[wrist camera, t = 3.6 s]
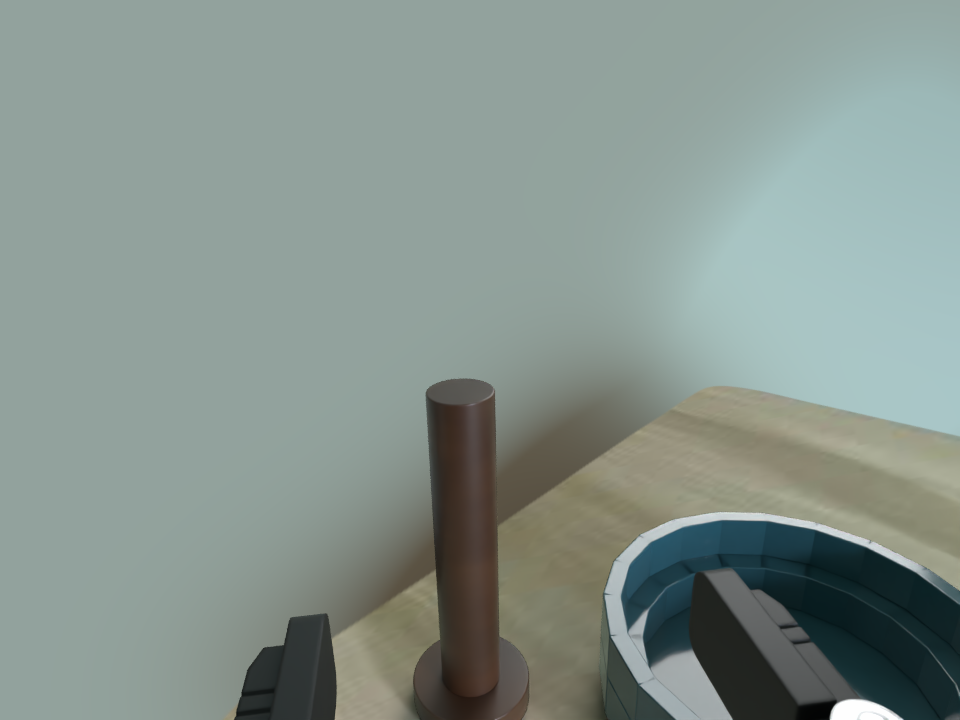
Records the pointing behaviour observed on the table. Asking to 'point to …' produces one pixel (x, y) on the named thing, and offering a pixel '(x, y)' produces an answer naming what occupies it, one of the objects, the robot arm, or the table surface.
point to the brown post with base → (467, 566)
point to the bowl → (805, 595)
